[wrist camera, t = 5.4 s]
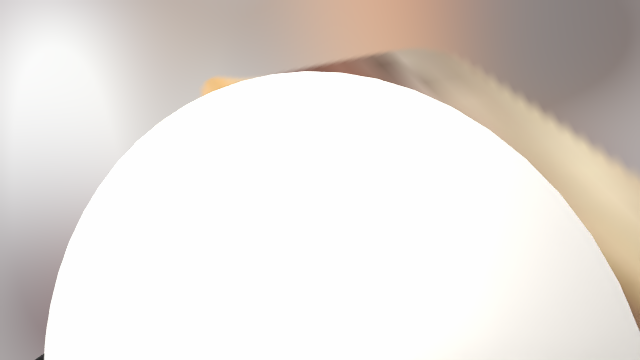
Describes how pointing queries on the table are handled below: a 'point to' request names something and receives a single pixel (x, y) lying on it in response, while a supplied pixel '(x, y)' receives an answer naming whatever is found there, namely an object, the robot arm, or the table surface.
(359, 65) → the table surface
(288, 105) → the white rounded tall piece
